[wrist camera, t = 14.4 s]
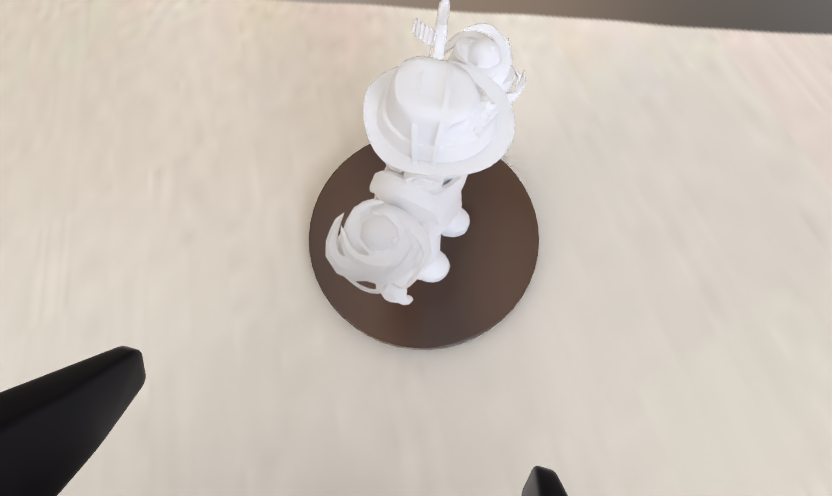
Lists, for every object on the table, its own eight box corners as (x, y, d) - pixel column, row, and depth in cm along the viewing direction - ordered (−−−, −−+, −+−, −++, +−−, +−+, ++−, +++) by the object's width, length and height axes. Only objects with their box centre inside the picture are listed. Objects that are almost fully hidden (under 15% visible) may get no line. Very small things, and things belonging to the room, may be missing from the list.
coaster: (364, 391, 19) (361, 392, 18) (281, 188, 22) (276, 181, 22) (577, 288, 20) (583, 284, 20) (471, 109, 24) (473, 100, 23)
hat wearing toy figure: (437, 148, 22) (452, -109, 10) (508, 180, 21) (606, -55, 10) (347, 304, 20) (239, 193, 8) (423, 345, 19) (422, 287, 8)
